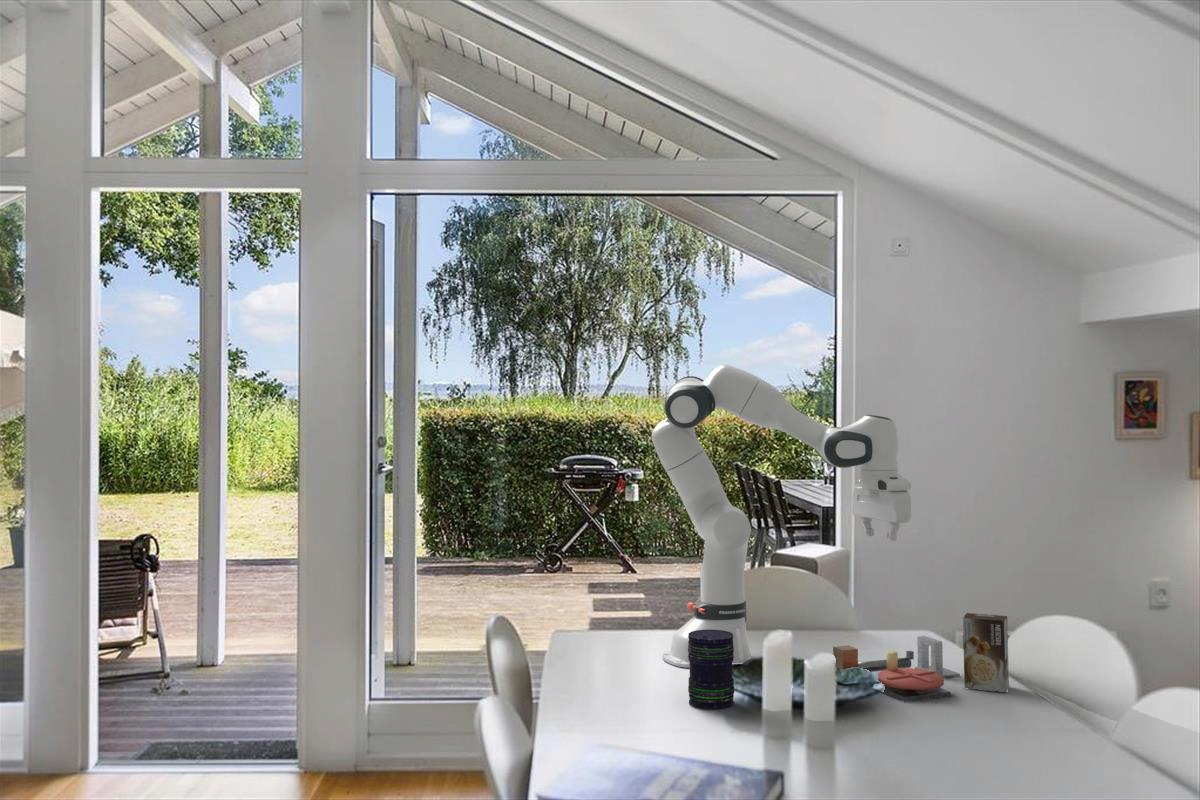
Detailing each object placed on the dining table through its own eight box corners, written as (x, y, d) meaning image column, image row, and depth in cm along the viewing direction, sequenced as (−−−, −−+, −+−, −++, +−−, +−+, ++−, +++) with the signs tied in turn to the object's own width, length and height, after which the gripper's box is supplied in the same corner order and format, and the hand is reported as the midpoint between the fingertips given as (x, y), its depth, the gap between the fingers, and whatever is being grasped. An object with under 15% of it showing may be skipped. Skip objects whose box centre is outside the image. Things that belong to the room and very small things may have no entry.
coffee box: (1010, 686, 246) (1009, 615, 246) (1006, 693, 240) (1005, 620, 240) (967, 682, 250) (967, 612, 250) (962, 688, 244) (962, 617, 244)
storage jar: (700, 695, 241) (700, 627, 241) (741, 701, 236) (741, 632, 236) (680, 706, 232) (679, 636, 232) (722, 712, 227) (721, 641, 227)
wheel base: (904, 701, 234) (904, 695, 234) (872, 688, 245) (872, 682, 245) (950, 696, 238) (950, 690, 238) (917, 683, 249) (917, 677, 249)
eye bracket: (938, 678, 253) (938, 643, 253) (914, 669, 262) (914, 635, 262) (959, 676, 255) (959, 641, 255) (935, 667, 264) (935, 633, 264)
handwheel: (864, 682, 245) (864, 654, 245) (912, 674, 251) (912, 648, 251) (908, 697, 232) (908, 668, 232) (957, 689, 239) (957, 661, 239)
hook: (842, 684, 247) (842, 650, 247) (833, 680, 251) (833, 646, 251) (917, 676, 254) (917, 643, 254) (907, 672, 258) (906, 639, 258)
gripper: (845, 479, 275) (845, 534, 275) (892, 484, 255) (893, 543, 255) (866, 478, 277) (867, 532, 277) (915, 483, 258) (916, 542, 258)
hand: (880, 538), depth 266 cm, fingers open, 8 cm apart
